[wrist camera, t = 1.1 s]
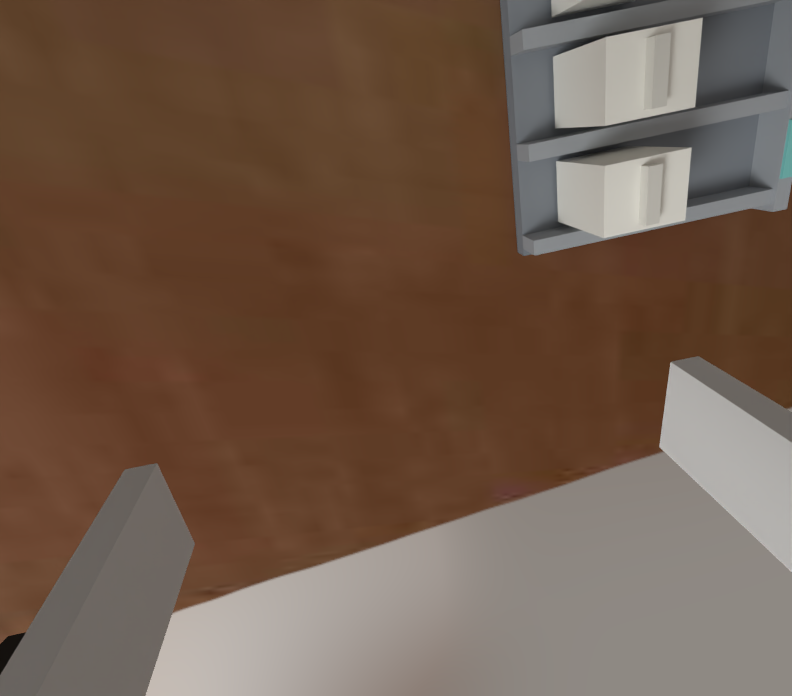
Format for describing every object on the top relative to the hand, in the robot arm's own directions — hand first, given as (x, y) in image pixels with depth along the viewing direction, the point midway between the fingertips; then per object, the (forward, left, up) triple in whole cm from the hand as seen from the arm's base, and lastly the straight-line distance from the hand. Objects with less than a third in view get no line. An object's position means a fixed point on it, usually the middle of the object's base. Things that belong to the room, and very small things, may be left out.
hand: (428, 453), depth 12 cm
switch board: (-8, +20, -23) cm, 32 cm away
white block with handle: (-2, +16, -22) cm, 27 cm away
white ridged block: (-8, +16, -22) cm, 28 cm away
